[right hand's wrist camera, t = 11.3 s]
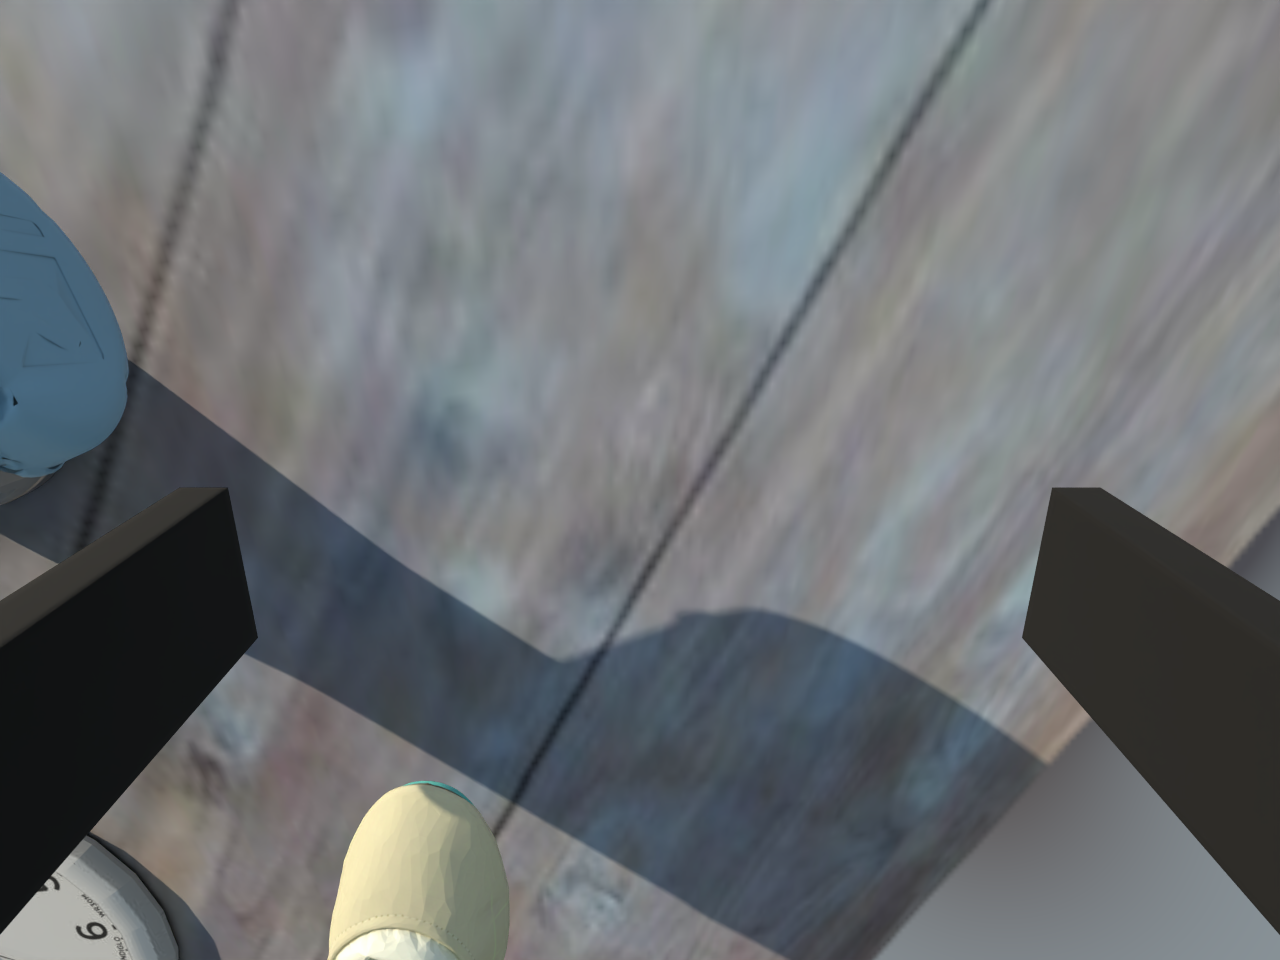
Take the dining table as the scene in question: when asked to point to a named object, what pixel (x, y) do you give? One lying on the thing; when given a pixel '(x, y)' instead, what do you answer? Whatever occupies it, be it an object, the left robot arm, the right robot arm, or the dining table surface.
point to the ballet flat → (421, 882)
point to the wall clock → (90, 914)
